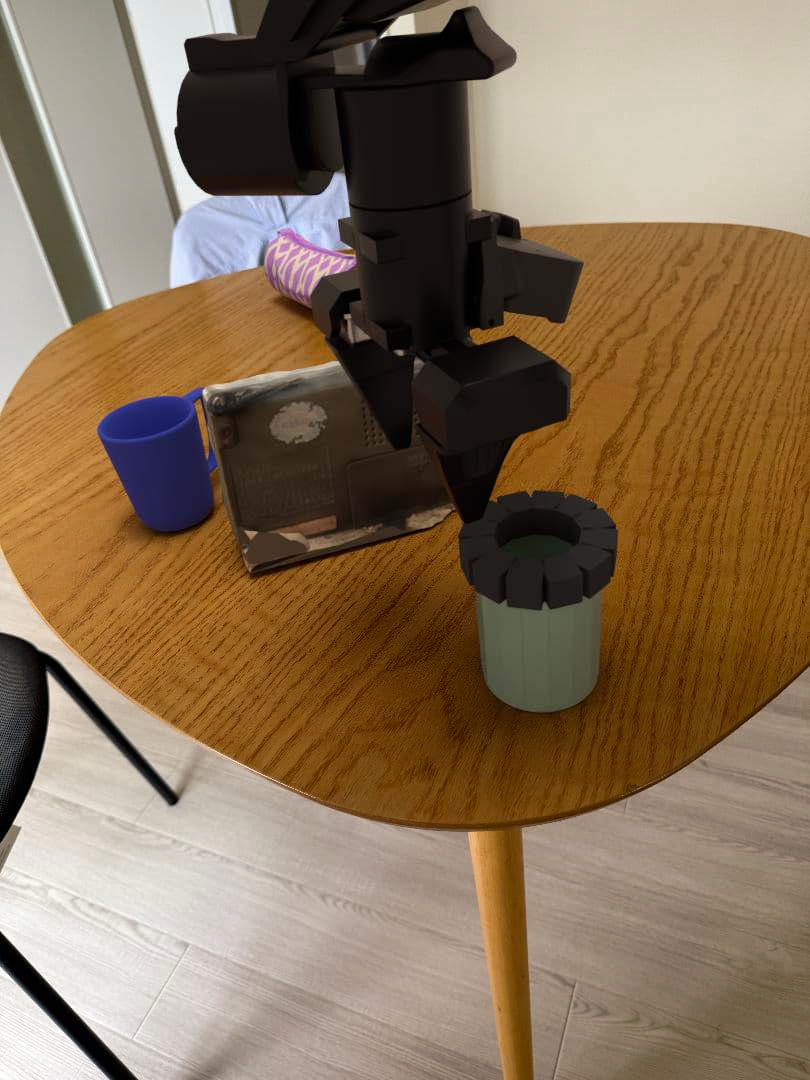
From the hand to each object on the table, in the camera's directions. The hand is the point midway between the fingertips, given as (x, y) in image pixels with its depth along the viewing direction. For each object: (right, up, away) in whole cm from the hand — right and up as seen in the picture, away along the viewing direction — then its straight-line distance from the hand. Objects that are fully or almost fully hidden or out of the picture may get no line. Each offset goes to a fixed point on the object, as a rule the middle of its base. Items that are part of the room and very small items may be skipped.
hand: (434, 481), depth 45 cm
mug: (-21, 0, +28) cm, 35 cm away
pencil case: (-12, +29, +67) cm, 74 cm away
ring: (+6, -5, 0) cm, 8 cm away
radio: (-5, -1, +23) cm, 23 cm away
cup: (+7, -12, +6) cm, 15 cm away
